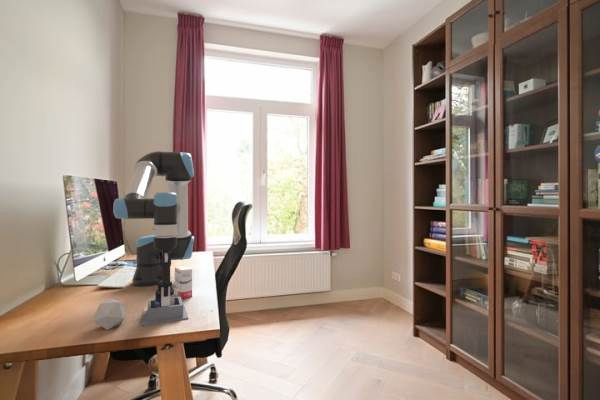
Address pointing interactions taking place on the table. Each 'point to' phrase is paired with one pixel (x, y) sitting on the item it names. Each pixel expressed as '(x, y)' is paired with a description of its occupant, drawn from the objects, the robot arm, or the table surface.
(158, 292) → the pill bottle
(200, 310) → the table surface
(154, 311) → the well
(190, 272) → the ink box
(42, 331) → the table surface
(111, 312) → the die
